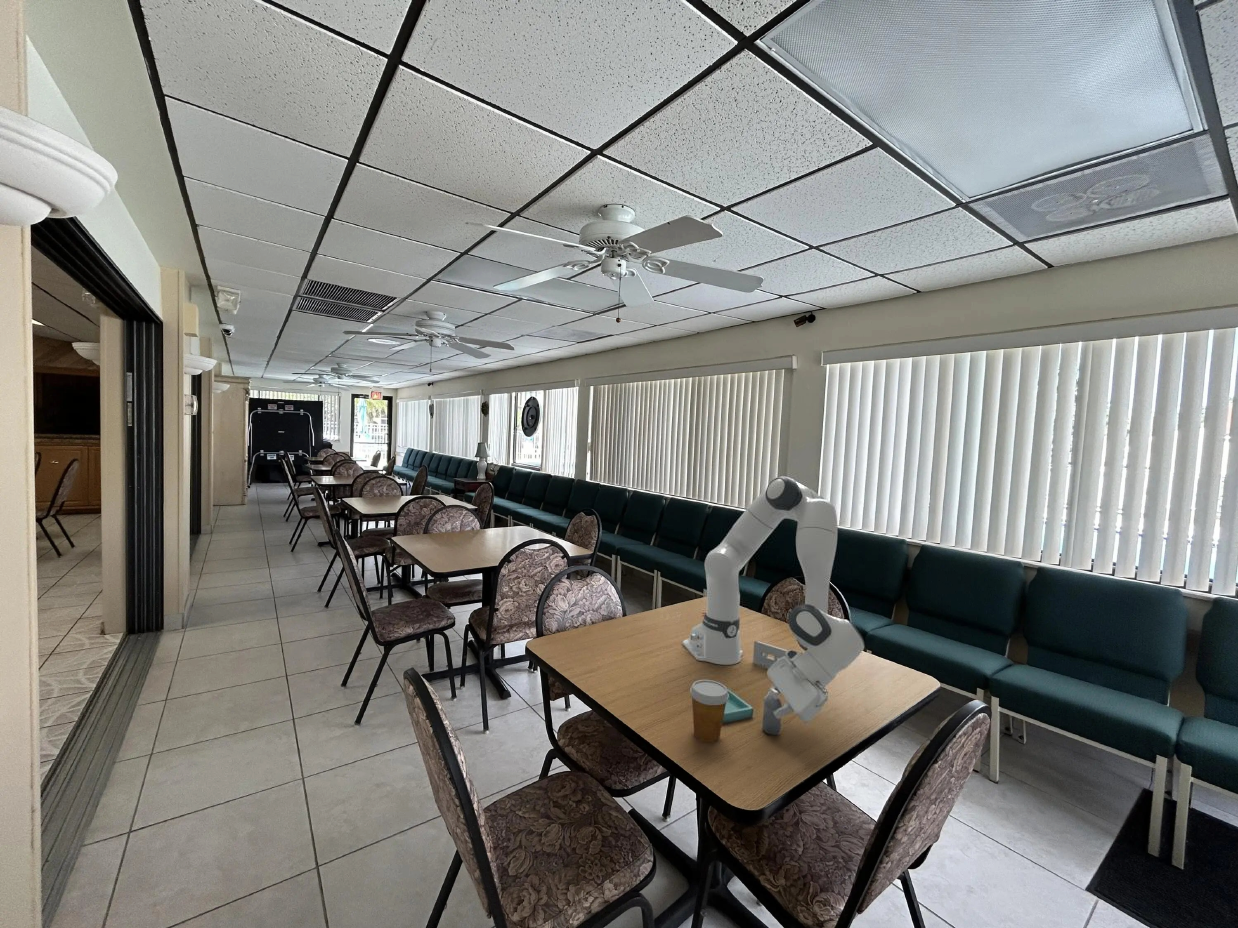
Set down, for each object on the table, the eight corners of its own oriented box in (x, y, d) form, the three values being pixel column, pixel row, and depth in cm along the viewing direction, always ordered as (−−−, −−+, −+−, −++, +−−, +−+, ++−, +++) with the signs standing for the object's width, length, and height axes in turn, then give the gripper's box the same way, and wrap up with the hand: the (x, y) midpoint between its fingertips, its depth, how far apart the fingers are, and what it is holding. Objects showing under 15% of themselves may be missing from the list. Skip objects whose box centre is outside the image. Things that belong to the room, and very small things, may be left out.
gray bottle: (758, 725, 128) (761, 687, 128) (771, 722, 130) (775, 684, 130) (770, 735, 125) (773, 696, 124) (783, 732, 126) (787, 693, 126)
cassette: (752, 663, 169) (753, 641, 169) (754, 662, 170) (755, 639, 170) (786, 675, 161) (788, 652, 161) (788, 673, 163) (790, 650, 162)
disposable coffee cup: (720, 725, 129) (723, 679, 129) (730, 747, 120) (733, 697, 119) (684, 723, 129) (687, 677, 128) (691, 745, 119) (694, 696, 119)
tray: (696, 701, 141) (697, 692, 141) (725, 695, 145) (726, 687, 145) (722, 723, 130) (722, 714, 130) (752, 716, 134) (753, 708, 134)
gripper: (839, 704, 117) (795, 743, 117) (800, 661, 137) (763, 695, 137) (823, 685, 116) (779, 725, 116) (786, 645, 137) (748, 679, 137)
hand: (770, 708), depth 127 cm, fingers closed on gray bottle, 4 cm apart
